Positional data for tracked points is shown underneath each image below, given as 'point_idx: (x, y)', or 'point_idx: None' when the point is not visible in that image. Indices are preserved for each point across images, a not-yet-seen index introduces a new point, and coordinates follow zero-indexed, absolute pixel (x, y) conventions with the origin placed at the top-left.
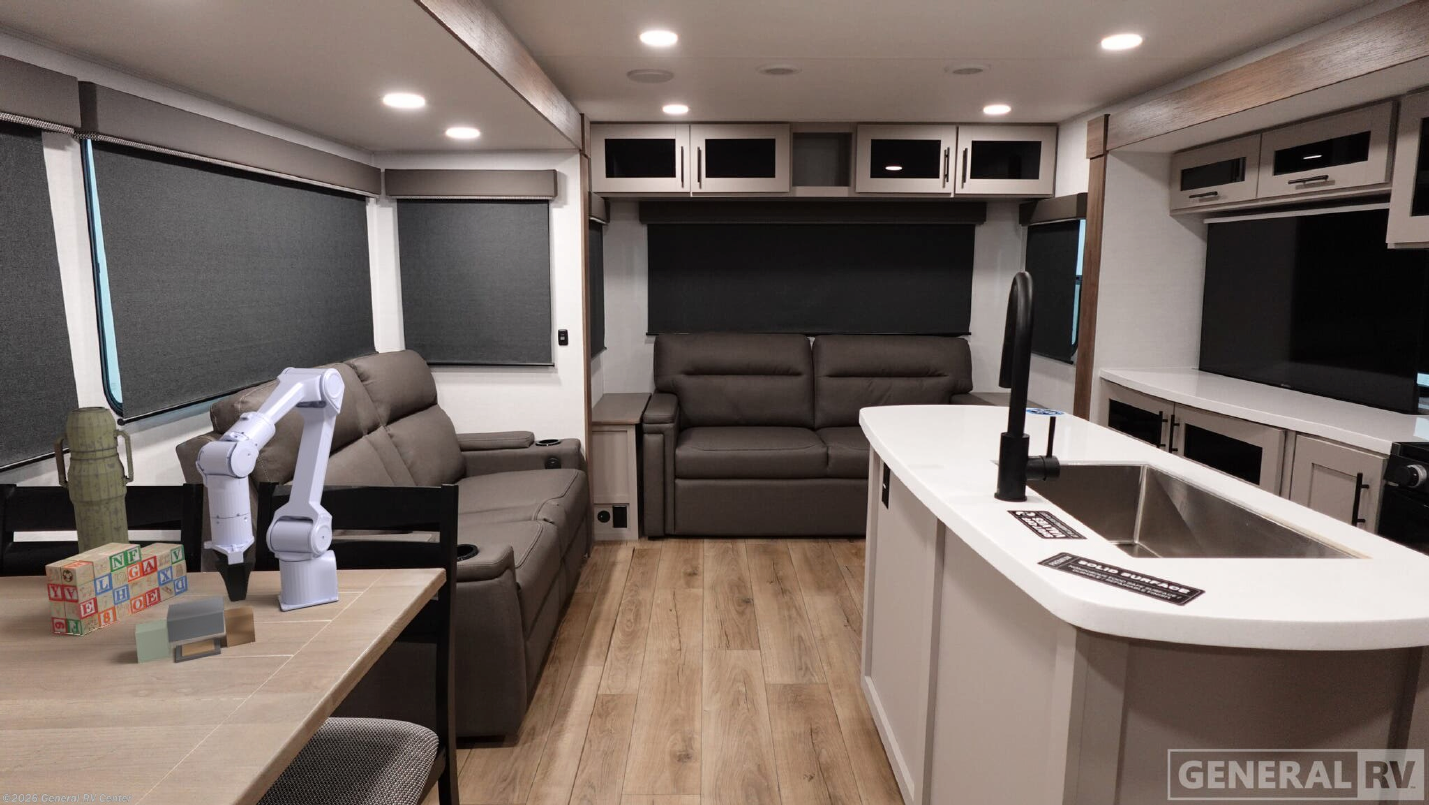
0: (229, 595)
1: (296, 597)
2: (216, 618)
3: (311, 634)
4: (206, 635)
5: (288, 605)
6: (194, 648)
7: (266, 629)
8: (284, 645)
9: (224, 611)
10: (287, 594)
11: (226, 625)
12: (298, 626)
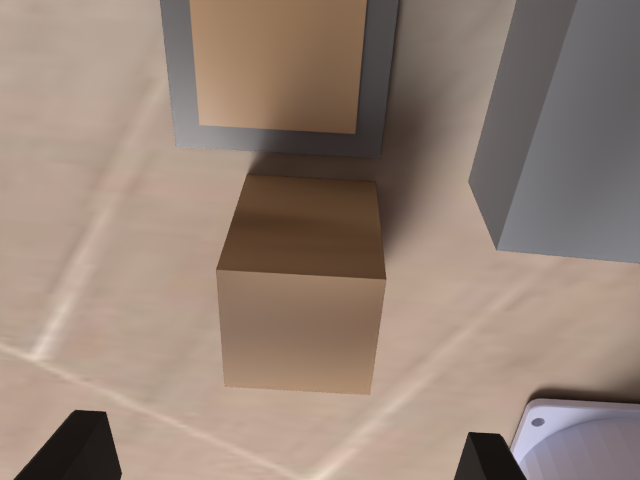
0: (32, 461)
1: (543, 478)
2: (496, 198)
3: (212, 425)
4: (491, 100)
5: (554, 426)
6: (270, 28)
7: None
8: (148, 350)
9: (366, 280)
10: (586, 470)
11: (225, 246)
12: (323, 409)
